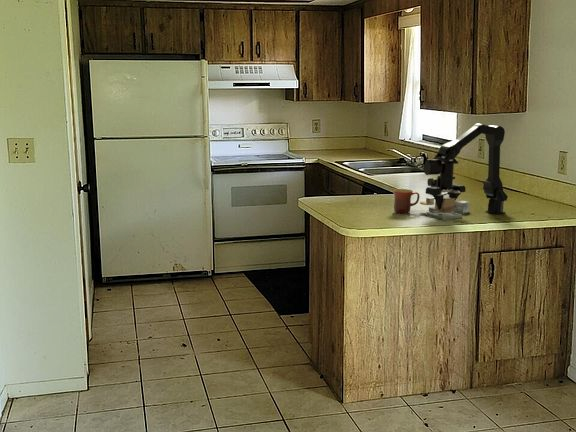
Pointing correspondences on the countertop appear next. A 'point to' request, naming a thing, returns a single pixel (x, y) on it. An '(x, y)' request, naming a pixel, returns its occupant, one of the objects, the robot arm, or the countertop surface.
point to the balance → (431, 202)
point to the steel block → (461, 207)
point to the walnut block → (446, 205)
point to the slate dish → (444, 215)
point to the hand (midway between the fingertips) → (444, 208)
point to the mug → (403, 200)
